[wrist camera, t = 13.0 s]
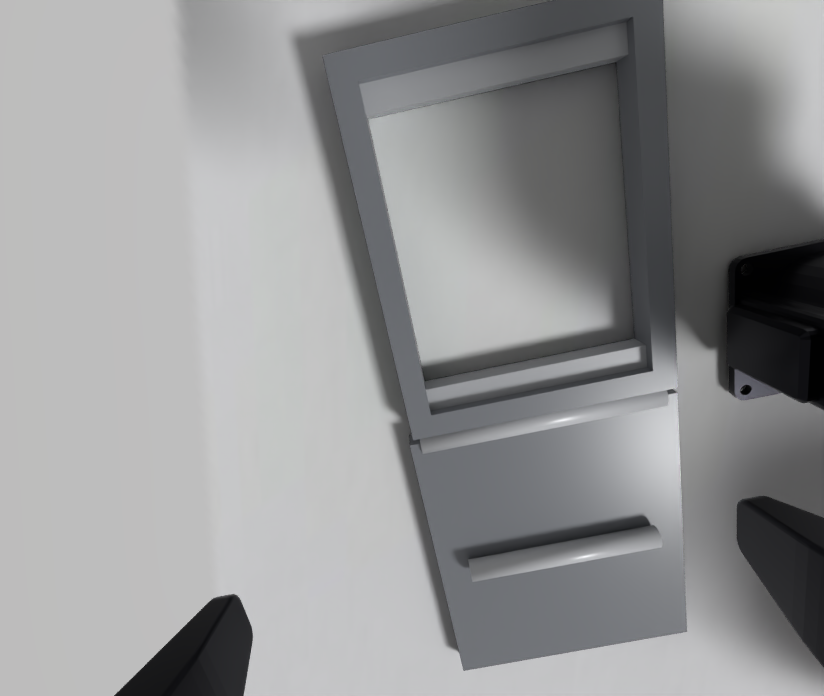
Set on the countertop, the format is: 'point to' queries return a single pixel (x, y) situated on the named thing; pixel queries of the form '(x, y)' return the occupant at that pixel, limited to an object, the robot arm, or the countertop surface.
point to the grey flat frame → (541, 362)
